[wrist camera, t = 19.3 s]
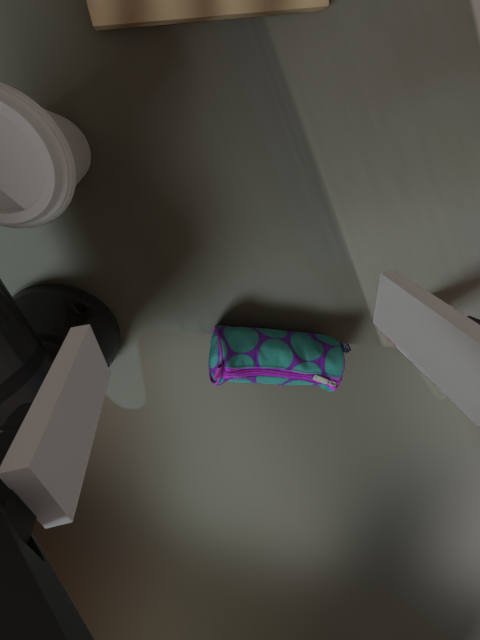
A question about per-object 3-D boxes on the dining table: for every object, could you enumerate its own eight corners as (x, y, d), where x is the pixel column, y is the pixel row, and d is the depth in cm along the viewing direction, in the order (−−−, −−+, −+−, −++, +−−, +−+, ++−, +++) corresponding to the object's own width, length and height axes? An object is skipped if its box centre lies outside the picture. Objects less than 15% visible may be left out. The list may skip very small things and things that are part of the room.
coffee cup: (-18, 114, 31) (-149, 104, 18) (74, 80, 31) (5, 46, 18) (44, 209, 36) (-25, 253, 23) (122, 180, 36) (95, 209, 23)
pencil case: (334, 324, 53) (363, 361, 44) (316, 366, 57) (340, 406, 49) (211, 311, 47) (219, 350, 39) (202, 358, 51) (207, 401, 43)
